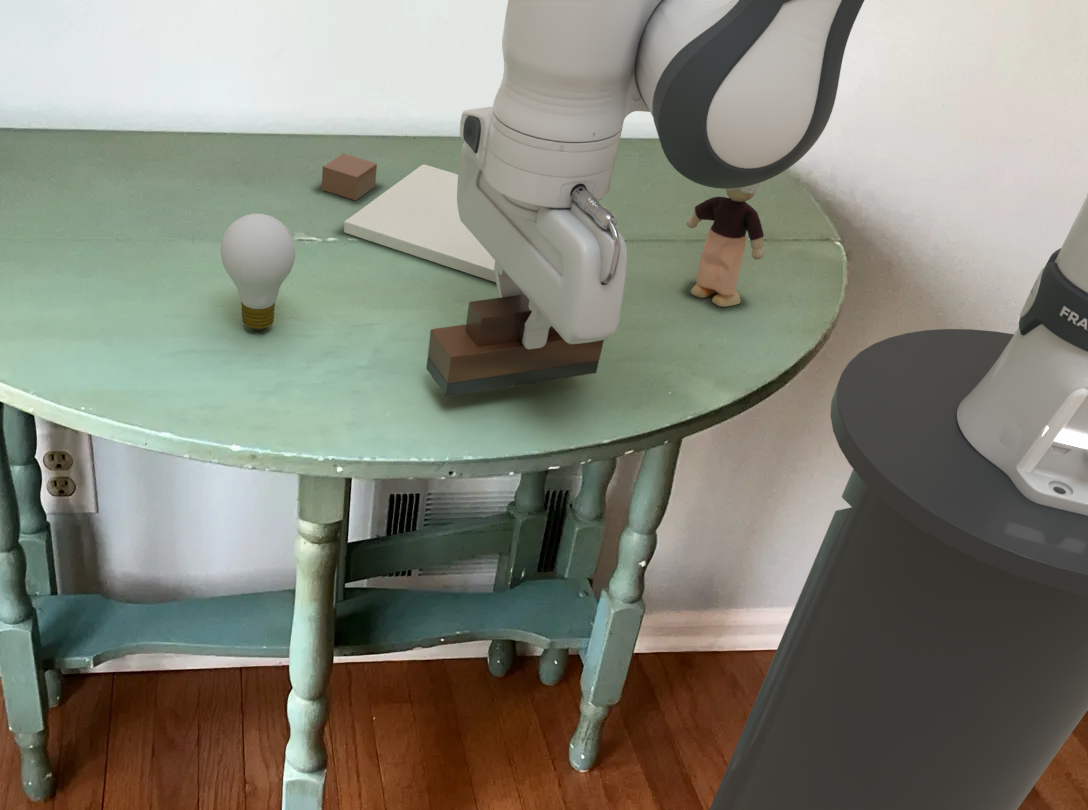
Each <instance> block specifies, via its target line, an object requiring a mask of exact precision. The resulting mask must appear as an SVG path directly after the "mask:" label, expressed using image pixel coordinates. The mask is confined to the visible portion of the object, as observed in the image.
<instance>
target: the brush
mask: <svg viewBox="0 0 1088 810" xmlns="http://www.w3.org/2000/svg"><path fill="white" fill-rule="evenodd" d="M531 313H532V311H531V310H530V309H529V299H528V298H527V297H526V295H525V294H524V293H523V295H516V296H509V297H501V298H498V297H495V298H487V299H486V298H485V299H479V300H472V301H469V302H468V308H467V314H466V320H465V324H459V325H451V326H444V327H437V328H431V329H430V332H429V333H430V334H429V342H428V351H427V358H426V359H427V360H426V367H425V368H426V370H427V372H428V373H429V375H430V376H431V378H432V379H433V380H434V382H435V383H436V385H437V387H439V389H440V390H441V393H443V395H444V396H445V397H453V396H459V395H467V394H472V393H478V392H485V391H490V390H497V389H498V390H499V389H504V388H511V387H518V386H523V385H530V384H537V383H542V382H549V381H555V380H561V379H568V378H574V377H580V376H586V375H593V374H597V372H598V368H599V363H600V359H601V354H602V350H603V346H604V341H605V340H601V341H595V342H589V343H581V344H569V343H567V342H566V341H565V340H564V339H563V338H562V337H561V336H560V335H559V334H558V332H557V331H556V330H555V329H554V328H553V327H552V326H551V327H550V328H549V332H548V337H547V342H546V344H545V345H544V346H543V347H541V348H536V349H527V348H525V346H524V345H523V344H522V343H521V341H520V340H519V339H518V336H517V335H518V332H519V323H520V320H525V319H528V318H529V316H530V314H531Z"/></svg>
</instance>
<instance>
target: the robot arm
mask: <svg viewBox="0 0 1088 810" xmlns="http://www.w3.org/2000/svg"><path fill="white" fill-rule="evenodd" d="M864 2H865V0H507V6H506V12H505V18H504V25H503V30H502V31H503V32H502V38H501V50H502V51H501V52H502V58H503V74H502V78H501V83H500V85H499V88H498V89H497V92H496V94H495V96H494V97H495V98H494V99H493V103H492V106H486V107H477V108H471V109H465V110H463V111H462V113H461V116H460V122H459V123H460V124H459V137H460V138H461V140H462V141H463V142H464V143H463V144H462V147H461V150H460V156H459V164H458V172H457V174H458V185H457V207H458V212H459V216H460V220H461V222H462V223H463V224H464V225H465V226H466V227H467V229H468V230H469V231H470V232H471V233H472V234H473V235H474V237H475V238H476V239H477V240H478V241H479V242H480V244H481V245H482V246H483V247H484V248H485V249H486V250H487V252H488V253H489V254H490V255H491V256H492V257H493V259H494V260H495V265H494V271H495V277H496V282H495V283H496V290H497V295H498V296H497V298H501V297H509V296H516V295H524V294H525V295H526V297H527V298H528V299H529V309H530V310H531V311H532V313H531V314H530V316H529V318H528V319H525V320H520V323H519V332H518V335H517V336H518V339H519V340H520V341H521V343H522V344H523V345H524V346H525V348H527V349H536V348H541V347H543V346H544V345H545V344H546V342H547V337H548V332H549V328H550V327H551V326H552V327H553V328H554V329H555V330H556V331H557V332H558V334H559V335H560V336H561V337H562V338H563V339H564V340H565V341H566V342H567V343H569V344H581V343H589V342H595V341H601V340H604V341H605V340H607V339H609V338H610V337H611V336H612V335H614V334H615V333H616V331H617V330H618V327H619V323H620V318H621V313H622V308H623V307H622V306H623V300H624V293H625V287H626V278H627V269H628V268H627V267H628V252H627V251H628V250H627V244H626V242H625V239H624V237H623V236H622V234H621V232H620V231H619V230H618V228H617V224H618V223H617V222H618V221H617V217H616V216H615V214H614V213H613V212H612V210H610V209H609V208H607V207H606V206H604V205H603V204H601V202H600V201H601V200H602V199H604V198H605V197H606V196H607V195H608V193H609V191H610V188H611V183H612V179H613V173H614V169H615V164H616V160H617V156H618V150H619V146H620V142H621V137H622V133H623V126H624V121H625V119H626V118H627V116H628V115H630V114H631V113H634V112H646V113H650V114H651V116H652V119H653V123H654V125H655V126H654V127H655V130H656V133H657V136H658V140H659V142H660V146H661V149H662V152H663V153H664V155H665V157H666V159H667V161H668V162H669V164H670V165H671V166H672V167H673V168H674V169H675V171H676V172H677V173H679V174H680V175H682V176H683V177H684V178H686V179H687V180H689V181H691V182H693V183H695V184H698V185H701V186H704V187H708V188H713V189H722V190H723V189H724V190H726V189H731V188H741V187H746V186H751V185H754V184H758V183H759V184H761V183H763V182H766V181H769V180H770V179H772V178H774V177H777V176H779V175H781V174H782V173H784V172H785V171H787V170H788V169H790V168H791V167H793V166H794V165H795V164H797V162H798V161H800V160H801V159H802V158H803V157H804V156H805V155H806V154H807V153H808V152H809V151H810V150H811V149H812V148H813V147H814V145H815V144H816V143H817V142H818V140H819V138H820V137H821V135H822V134H823V133H824V130H825V128H826V127H827V125H828V123H829V120H830V117H831V115H832V113H833V110H834V106H835V103H836V99H837V93H838V88H839V84H840V83H839V82H840V76H841V70H842V65H843V59H844V55H845V51H846V47H847V43H848V41H849V38H850V34H851V32H852V29H853V27H854V24H855V22H856V19H857V17H858V16H859V13H860V11H861V9H862V6H863V4H864ZM1013 334H1014V336H1013V337H1012V339H1011V340H1010V342H1009V343H1008V345H1007V346H1006V348H1005V349H1004V351H1003V352H1002V354H1001V355H1000V357H999V358H998V359H997V361H996V362H995V364H994V365H993V366H992V368H991V369H990V370H989V372H988V373H987V374H986V375H985V376H984V378H983V379H982V380H981V381H980V383H979V384H978V385H977V386H976V387H975V388H974V389H973V390H972V391H971V392H970V393H969V394H968V395H967V396H966V397H965V398H964V399H963V400H962V402H961V403H960V404H959V407H958V409H957V421H958V425H959V427H960V430H961V432H962V433H963V435H964V436H965V438H966V439H967V440H968V442H969V443H970V444H971V445H972V446H973V447H974V448H975V449H976V450H977V451H978V452H979V453H980V454H981V455H982V456H984V457H985V458H986V459H987V460H989V461H990V462H991V463H993V464H994V465H996V466H997V467H998V468H1000V469H1001V470H1002V471H1003V472H1005V473H1006V474H1007V475H1008V476H1009V478H1010V479H1011V481H1012V482H1013V483H1014V485H1015V486H1016V487H1017V489H1018V490H1019V491H1020V492H1021V493H1022V494H1023V495H1024V496H1025V497H1026V498H1027V499H1029V500H1031V501H1032V502H1035V503H1037V504H1041V505H1045V506H1049V507H1053V508H1057V509H1061V510H1066V511H1070V512H1074V513H1078V514H1082V515H1087V516H1088V193H1087V194H1086V196H1085V198H1084V201H1083V203H1082V204H1081V207H1080V209H1079V210H1078V213H1077V215H1076V217H1075V219H1074V221H1073V223H1072V224H1071V228H1070V229H1069V231H1068V233H1067V236H1066V238H1065V239H1064V242H1063V243H1062V246H1061V248H1058V249H1056V250H1055V251H1054V252H1052V254H1051V255H1050V257H1049V258H1048V259H1047V262H1046V264H1045V265H1044V267H1043V268H1041V270H1040V271H1039V273H1038V276H1037V277H1036V280H1035V282H1034V283H1033V286H1032V287H1031V290H1030V292H1029V294H1028V296H1027V298H1026V299H1025V303H1024V305H1023V307H1022V309H1021V311H1020V314H1019V320H1018V328H1017V329H1016V331H1015V332H1014V333H1013Z"/></svg>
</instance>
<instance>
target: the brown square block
mask: <svg viewBox="0 0 1088 810" xmlns="http://www.w3.org/2000/svg"><path fill="white" fill-rule="evenodd" d="M377 166H378V163H377V162H373V161H370V160H366V159H363V158H360V157H357V156H353V155H350V154H347V153H341V154H340V155H338V156H337V157H335V158H333V159H331V160H330V161H329V162H327V163H326V164H324V165H323V166H322V172H321V173H322V175H321V176H322V177H321V191H324V192H327V193H331V194H334V195H335V196H340V197H343V198H345V199H349V200H351V201H352V200H353V201H357V200H359V199H360V198H362V197H363V196H364V195H366V194H367V193H369V192H370V191H372V190H373V189H375V188H376V181H377V169H378V168H377Z"/></svg>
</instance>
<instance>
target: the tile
mask: <svg viewBox="0 0 1088 810" xmlns="http://www.w3.org/2000/svg"><path fill="white" fill-rule="evenodd" d="M457 185H458V173H454V172H451V171H449V170H448V171H447V170H444V169H442V168H438V167H434V166H431V165H428V164H426V163H423V164H421V165H420V166H418V167H417V168H416V169H414V170H412V172H410V173H409V174H407V175H406V176H405V177H403V178H402V179H400V180H399V181H398V182H396V183H395V184H393V185H392V186H391V187H389V188H388V189H387V190H385V191H383V193H381V194H379V196H377V197H376V198H374V199H373V200H372V201H370V202H369V203H367V204H366V205H364V206H363V207H362V208H360V209H359V210H357V212H355V213H353V214H352V215H350V216H349V217H348V218H347V219H345V220H344V223H343V233H344V234H348V235H351V236H353V237H357V238H360V239H362V240H365V241H369V242H372V243H374V244H378V245H381V246H384V247H386V248H390V249H393V250H396V251H399V252H402V253H405V254H408V255H411V256H414V257H417V258H420V259H422V260H423V259H424V260H427V261H429V262H432V263H435V264H438V265H442V266H444V267H448V268H450V269H454V270H457V271H460V272H463V273H466V274H469V275H472V276H475V277H478V278H481V279H483V280H487V281H490V282H493V283H496V277H495V271H494V265H495V260H494V259H493V257H492V256H491V255H490V254H489V253H488V252H487V250H486V249H485V248H484V247H483V246H482V245H481V244H480V242H479V241H478V240H477V239H476V238H475V237H474V235H473V234H472V233H471V232H470V231H469V230H468V229H467V227H466V226H465V225H464V224H463V223H462V222H461V220H460V216H459V212H458V207H457Z"/></svg>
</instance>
